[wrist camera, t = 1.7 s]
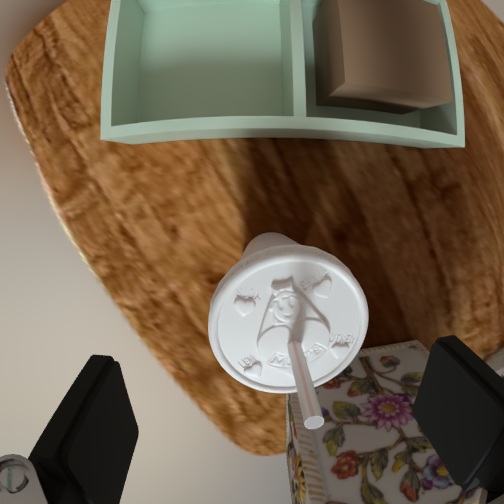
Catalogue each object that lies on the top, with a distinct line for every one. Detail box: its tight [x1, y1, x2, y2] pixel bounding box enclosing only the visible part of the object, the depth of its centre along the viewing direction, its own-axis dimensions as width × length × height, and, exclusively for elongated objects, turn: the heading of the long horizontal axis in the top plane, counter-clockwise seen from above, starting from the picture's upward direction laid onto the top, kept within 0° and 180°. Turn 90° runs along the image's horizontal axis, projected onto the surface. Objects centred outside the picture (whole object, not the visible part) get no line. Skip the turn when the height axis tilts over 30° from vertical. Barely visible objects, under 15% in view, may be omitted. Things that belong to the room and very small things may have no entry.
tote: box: [101, 0, 465, 148], centre depth 15 cm, size 20×10×5 cm, turn 91°
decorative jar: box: [286, 340, 482, 504], centre depth 16 cm, size 12×12×18 cm
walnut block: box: [312, 0, 452, 115], centre depth 14 cm, size 6×6×6 cm
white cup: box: [208, 232, 368, 429], centre depth 14 cm, size 6×6×14 cm
